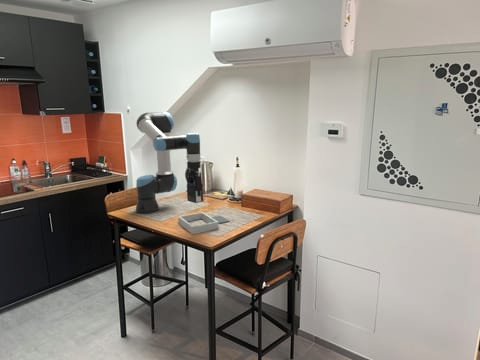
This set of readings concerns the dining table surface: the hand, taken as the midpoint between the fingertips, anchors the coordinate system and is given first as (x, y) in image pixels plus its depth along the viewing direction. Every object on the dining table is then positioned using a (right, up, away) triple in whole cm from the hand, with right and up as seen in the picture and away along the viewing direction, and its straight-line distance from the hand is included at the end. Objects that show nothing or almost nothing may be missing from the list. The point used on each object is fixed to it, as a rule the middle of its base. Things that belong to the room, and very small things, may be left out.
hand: (195, 199), depth 200 cm
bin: (+1, -16, +4) cm, 16 cm away
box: (0, -1, 0) cm, 1 cm away
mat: (+12, -13, +12) cm, 22 cm away
